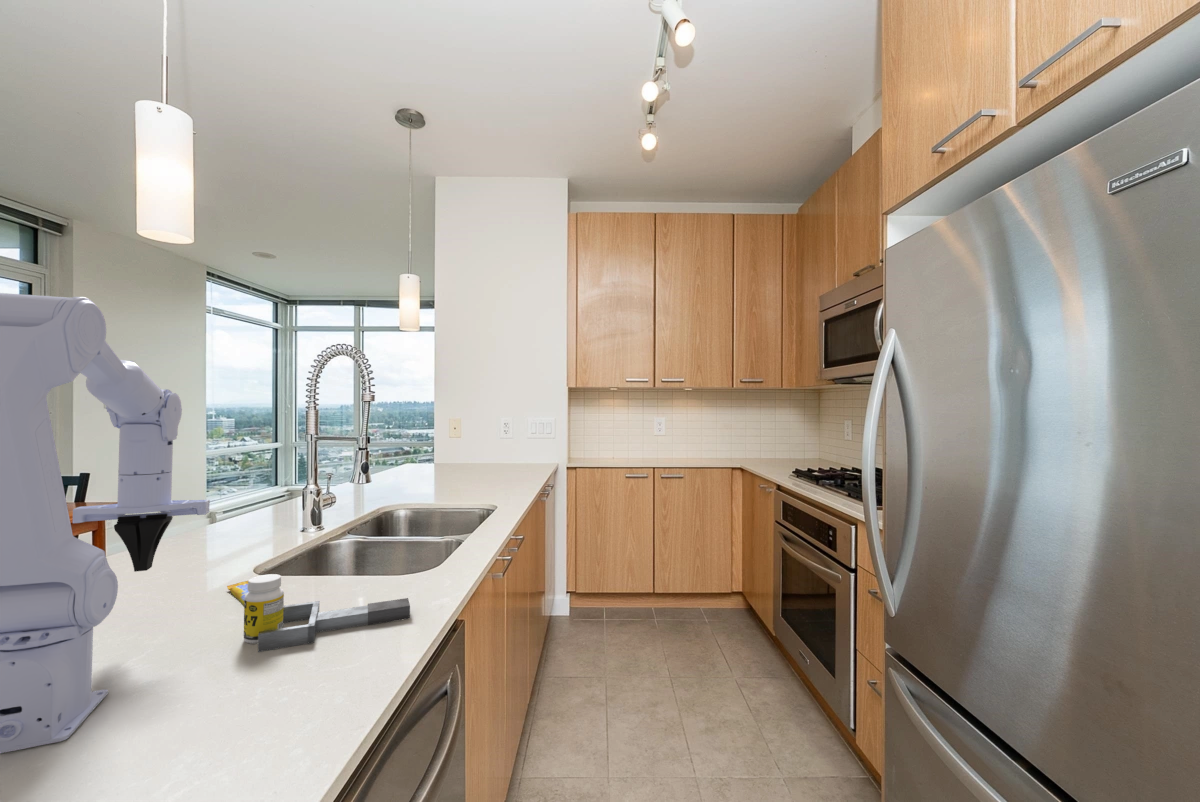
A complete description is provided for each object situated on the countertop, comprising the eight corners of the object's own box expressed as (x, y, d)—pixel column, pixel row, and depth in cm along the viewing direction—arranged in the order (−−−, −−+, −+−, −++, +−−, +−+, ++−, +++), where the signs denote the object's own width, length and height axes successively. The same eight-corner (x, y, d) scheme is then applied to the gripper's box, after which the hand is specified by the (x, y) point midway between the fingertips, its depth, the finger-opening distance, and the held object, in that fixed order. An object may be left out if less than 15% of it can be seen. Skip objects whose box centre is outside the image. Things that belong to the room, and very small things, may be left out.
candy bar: (281, 612, 83) (281, 600, 83) (250, 619, 80) (250, 607, 80) (254, 587, 95) (254, 577, 95) (226, 593, 91) (226, 582, 92)
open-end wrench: (411, 626, 77) (412, 610, 77) (257, 651, 68) (258, 633, 68) (406, 603, 86) (406, 589, 86) (269, 623, 77) (270, 607, 78)
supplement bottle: (237, 639, 72) (238, 579, 72) (272, 627, 76) (273, 570, 76) (253, 647, 70) (254, 585, 70) (289, 634, 74) (290, 576, 74)
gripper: (215, 468, 79) (213, 555, 79) (91, 472, 73) (88, 567, 72) (203, 473, 73) (200, 568, 72) (65, 478, 66) (62, 582, 66)
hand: (143, 569), depth 72 cm, fingers closed
